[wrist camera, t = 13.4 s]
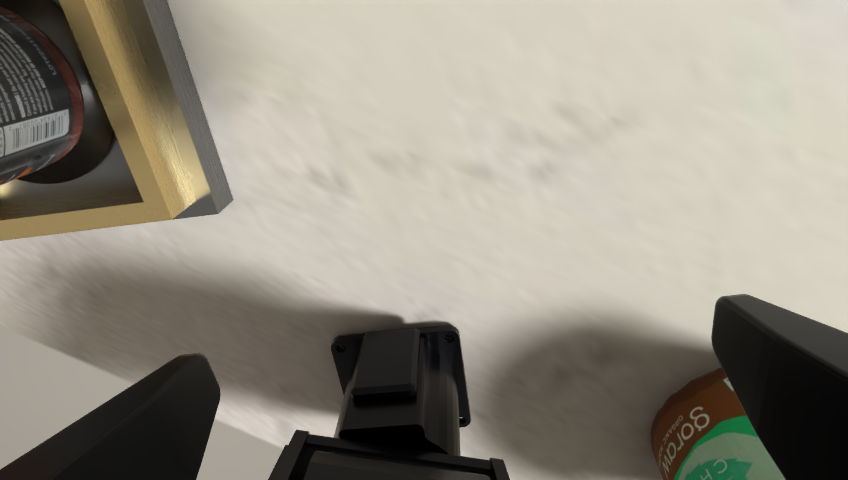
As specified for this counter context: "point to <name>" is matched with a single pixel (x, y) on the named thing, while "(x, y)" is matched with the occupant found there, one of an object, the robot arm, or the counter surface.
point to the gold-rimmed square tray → (119, 126)
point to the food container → (709, 435)
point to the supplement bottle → (34, 99)
